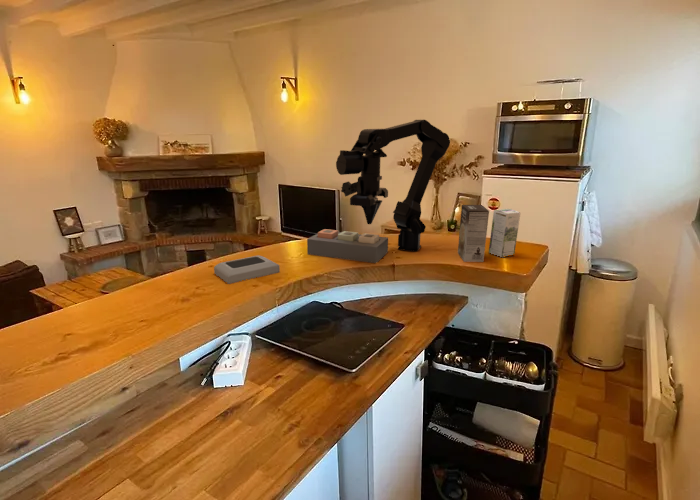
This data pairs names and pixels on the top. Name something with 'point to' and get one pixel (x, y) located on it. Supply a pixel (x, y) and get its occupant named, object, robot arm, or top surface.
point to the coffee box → (473, 233)
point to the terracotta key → (328, 234)
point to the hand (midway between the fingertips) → (369, 224)
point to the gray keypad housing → (347, 248)
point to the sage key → (348, 236)
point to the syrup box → (504, 232)
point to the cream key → (369, 238)
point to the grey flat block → (245, 269)
